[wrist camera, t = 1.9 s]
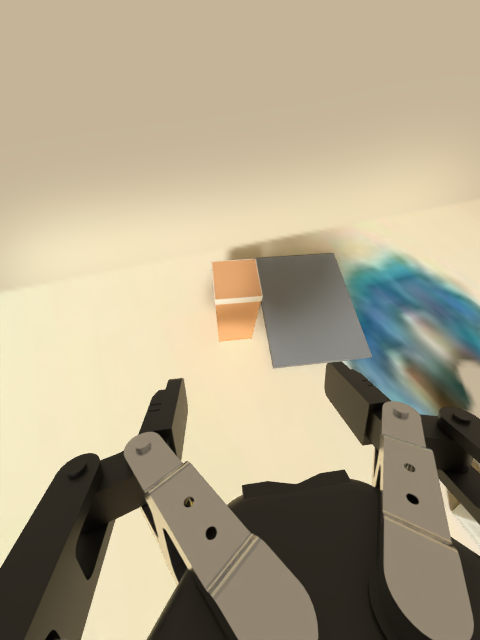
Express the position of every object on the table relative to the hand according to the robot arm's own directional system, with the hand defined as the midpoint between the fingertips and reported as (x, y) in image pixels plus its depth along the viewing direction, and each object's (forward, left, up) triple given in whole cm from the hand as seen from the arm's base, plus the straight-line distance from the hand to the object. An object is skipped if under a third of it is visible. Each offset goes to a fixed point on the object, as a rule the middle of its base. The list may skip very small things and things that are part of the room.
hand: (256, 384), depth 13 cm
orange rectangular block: (0, +10, -14) cm, 17 cm away
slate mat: (+10, +12, -14) cm, 21 cm away
